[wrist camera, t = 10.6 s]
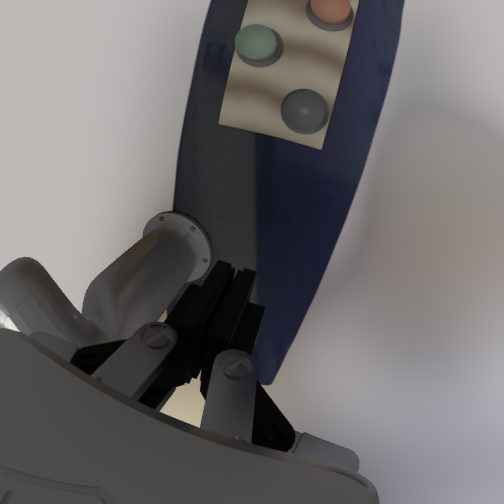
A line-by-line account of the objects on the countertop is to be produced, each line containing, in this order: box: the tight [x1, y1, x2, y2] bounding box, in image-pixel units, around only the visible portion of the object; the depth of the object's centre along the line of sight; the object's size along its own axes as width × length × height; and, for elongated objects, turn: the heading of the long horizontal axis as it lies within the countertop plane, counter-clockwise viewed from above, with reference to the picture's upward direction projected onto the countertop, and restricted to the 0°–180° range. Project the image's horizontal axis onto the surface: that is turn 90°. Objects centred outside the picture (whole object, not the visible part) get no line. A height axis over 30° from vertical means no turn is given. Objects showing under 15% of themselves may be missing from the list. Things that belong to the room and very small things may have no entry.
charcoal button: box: [283, 91, 325, 131], centre depth 27 cm, size 4×4×2 cm
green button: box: [235, 24, 278, 61], centre depth 24 cm, size 4×4×2 cm
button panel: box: [218, 0, 359, 150], centre depth 26 cm, size 22×13×3 cm, turn 168°
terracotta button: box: [311, 0, 351, 25], centre depth 20 cm, size 4×4×2 cm
